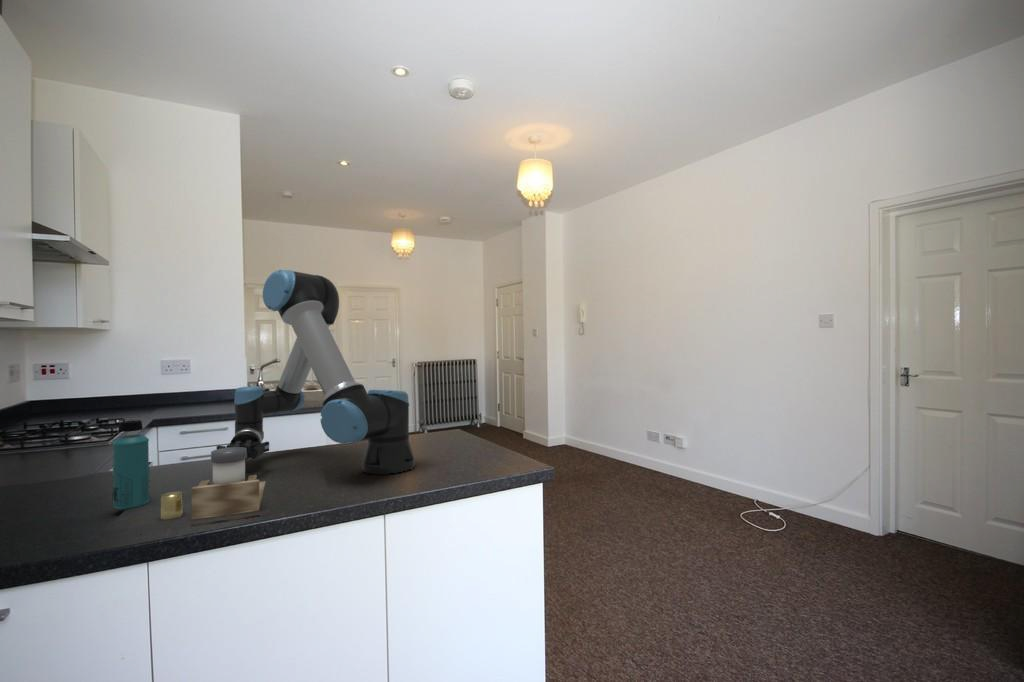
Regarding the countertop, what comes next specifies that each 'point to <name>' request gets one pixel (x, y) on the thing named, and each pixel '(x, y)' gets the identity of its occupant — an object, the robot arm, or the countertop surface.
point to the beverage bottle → (130, 467)
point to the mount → (226, 499)
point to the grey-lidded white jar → (228, 464)
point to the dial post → (171, 505)
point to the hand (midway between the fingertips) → (236, 461)
